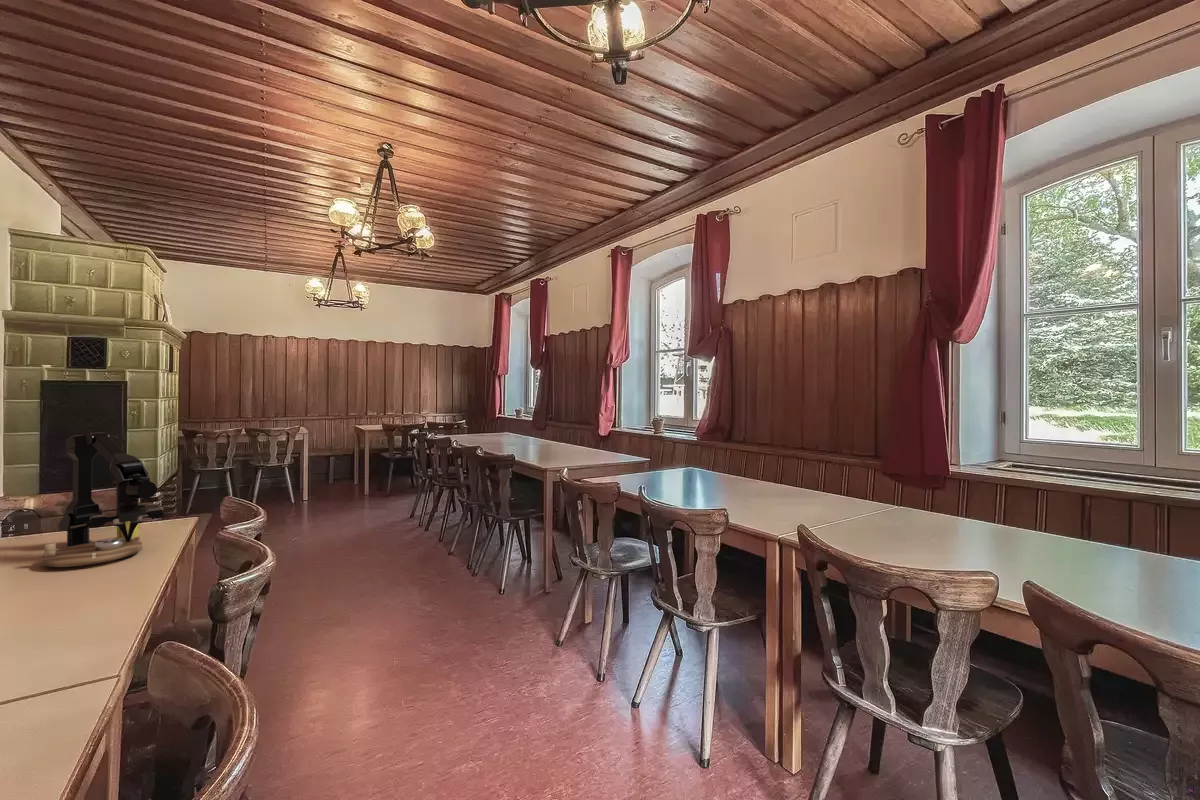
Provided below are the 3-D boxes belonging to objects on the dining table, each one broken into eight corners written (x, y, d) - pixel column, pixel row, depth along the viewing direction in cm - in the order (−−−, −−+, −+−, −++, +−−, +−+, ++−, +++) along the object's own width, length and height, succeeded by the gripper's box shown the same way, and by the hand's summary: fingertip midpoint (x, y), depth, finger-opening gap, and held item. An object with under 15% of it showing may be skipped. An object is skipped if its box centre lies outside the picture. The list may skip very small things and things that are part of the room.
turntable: (43, 553, 173) (43, 537, 172) (139, 540, 189) (139, 525, 189) (37, 572, 155) (37, 553, 155) (144, 555, 172) (144, 538, 172)
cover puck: (95, 547, 175) (95, 540, 175) (123, 543, 180) (123, 536, 180) (95, 552, 170) (95, 544, 170) (124, 548, 175) (124, 540, 175)
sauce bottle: (144, 540, 194) (144, 487, 193) (127, 545, 187) (127, 490, 187) (128, 539, 194) (128, 486, 194) (111, 544, 188) (111, 489, 188)
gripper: (89, 504, 166) (89, 553, 166) (165, 496, 179) (165, 541, 179) (89, 498, 173) (89, 545, 174) (162, 491, 187) (162, 534, 187)
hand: (127, 541), depth 178 cm, fingers closed
